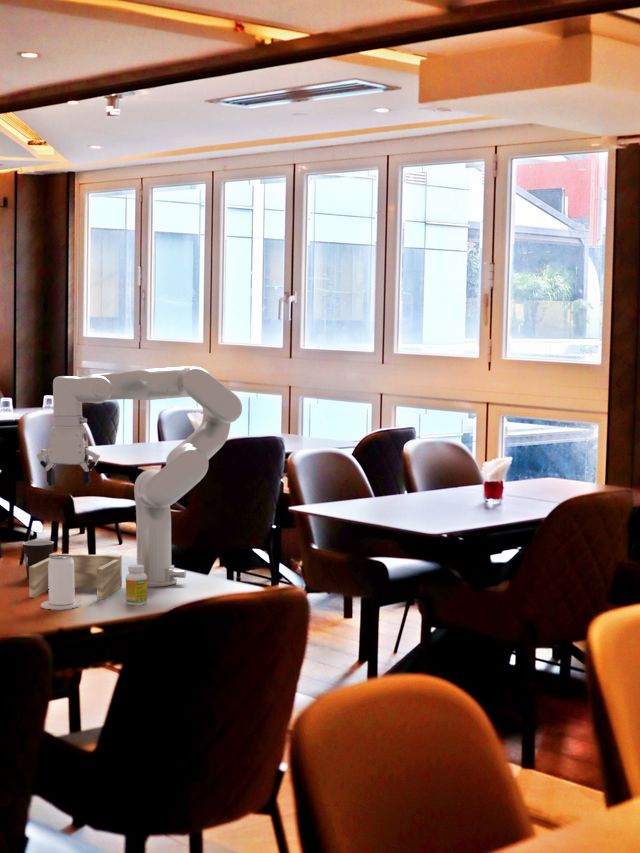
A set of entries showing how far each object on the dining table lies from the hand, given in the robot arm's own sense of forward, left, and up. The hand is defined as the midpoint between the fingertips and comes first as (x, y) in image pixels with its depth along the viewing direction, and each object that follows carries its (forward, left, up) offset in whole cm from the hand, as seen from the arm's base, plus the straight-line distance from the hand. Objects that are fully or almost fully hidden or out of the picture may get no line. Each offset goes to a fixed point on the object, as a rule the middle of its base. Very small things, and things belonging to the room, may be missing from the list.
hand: (68, 485), depth 327 cm
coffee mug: (+15, -16, -28) cm, 36 cm away
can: (-5, +20, -28) cm, 35 cm away
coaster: (-5, +20, -28) cm, 35 cm away
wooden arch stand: (-3, +4, -28) cm, 29 cm away
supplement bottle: (-23, +14, -28) cm, 39 cm away
